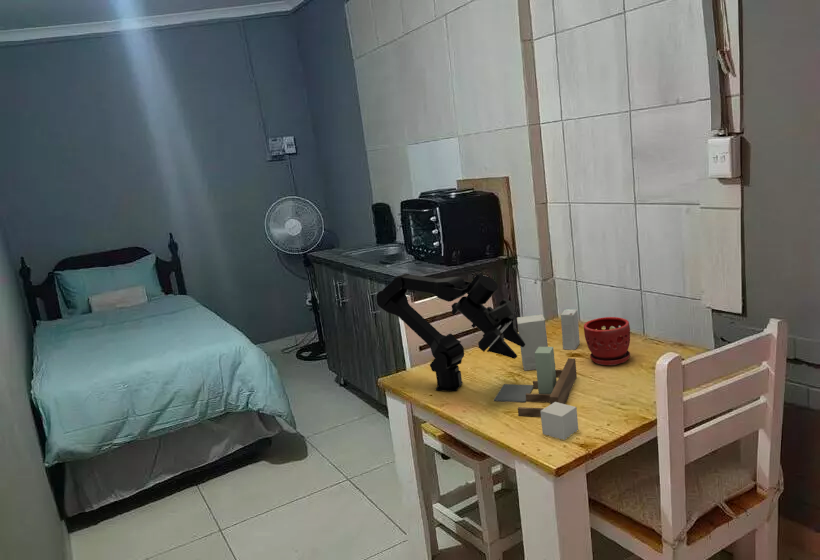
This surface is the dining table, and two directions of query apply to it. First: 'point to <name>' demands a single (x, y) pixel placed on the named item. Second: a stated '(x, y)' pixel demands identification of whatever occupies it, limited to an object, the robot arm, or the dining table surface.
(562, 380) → the lane rack
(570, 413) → the light grey cube
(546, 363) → the sage block
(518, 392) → the slate mat
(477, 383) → the dining table surface
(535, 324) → the skincare box
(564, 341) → the skincare box
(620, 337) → the plant pot
